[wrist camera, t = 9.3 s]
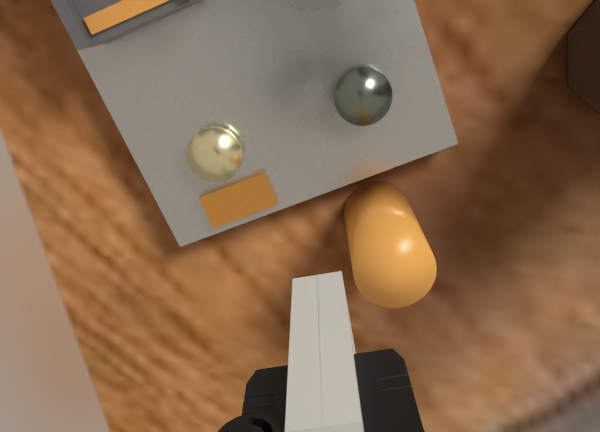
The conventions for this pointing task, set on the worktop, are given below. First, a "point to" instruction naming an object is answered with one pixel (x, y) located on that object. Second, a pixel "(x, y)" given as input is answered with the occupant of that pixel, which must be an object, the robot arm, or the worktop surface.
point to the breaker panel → (269, 103)
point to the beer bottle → (585, 57)
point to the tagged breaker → (110, 17)
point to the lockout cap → (387, 246)
